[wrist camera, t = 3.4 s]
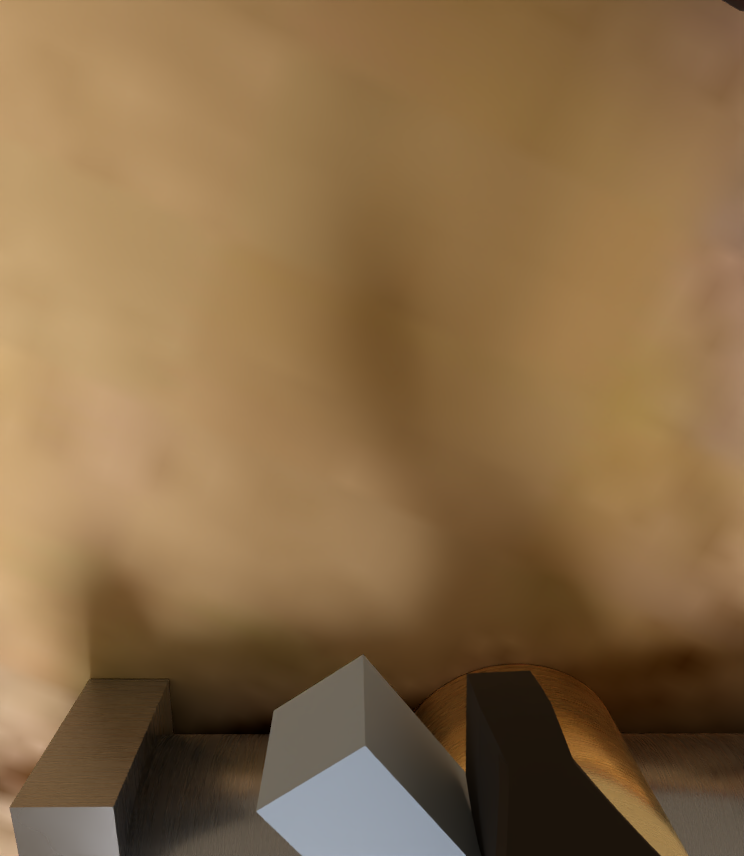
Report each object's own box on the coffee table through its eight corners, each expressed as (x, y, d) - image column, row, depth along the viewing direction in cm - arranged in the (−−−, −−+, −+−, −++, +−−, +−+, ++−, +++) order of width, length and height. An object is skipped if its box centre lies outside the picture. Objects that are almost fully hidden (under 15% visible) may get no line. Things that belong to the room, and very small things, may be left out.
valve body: (926, 665, 16) (1146, 822, 11) (866, 836, 17) (1037, 1029, 13) (87, 662, 15) (-24, 831, 10) (111, 842, 16) (25, 1051, 12)
